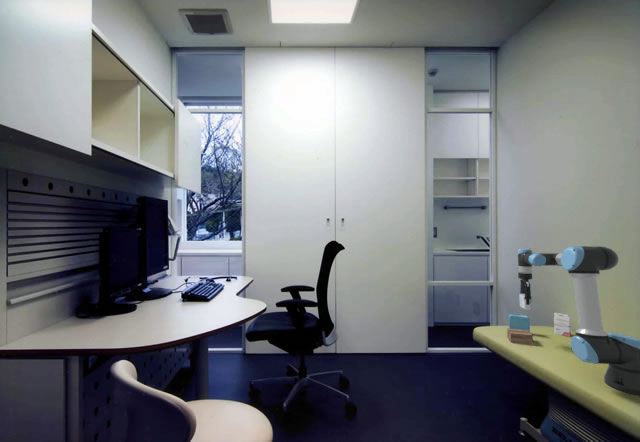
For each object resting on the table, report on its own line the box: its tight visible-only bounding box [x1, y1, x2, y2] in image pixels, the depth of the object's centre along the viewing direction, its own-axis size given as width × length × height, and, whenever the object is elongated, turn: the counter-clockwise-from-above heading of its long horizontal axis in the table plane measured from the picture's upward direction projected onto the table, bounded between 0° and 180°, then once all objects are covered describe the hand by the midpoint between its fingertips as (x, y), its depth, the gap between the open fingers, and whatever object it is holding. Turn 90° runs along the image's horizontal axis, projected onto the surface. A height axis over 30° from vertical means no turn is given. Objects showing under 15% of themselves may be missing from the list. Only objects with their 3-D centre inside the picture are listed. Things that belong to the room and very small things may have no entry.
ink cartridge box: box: [553, 312, 572, 338], centre depth 211 cm, size 9×5×15 cm, turn 43°
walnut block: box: [506, 327, 534, 346], centre depth 199 cm, size 10×12×6 cm
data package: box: [508, 313, 531, 333], centre depth 215 cm, size 12×4×12 cm, turn 60°
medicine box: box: [518, 293, 533, 311], centre depth 198 cm, size 8×4×9 cm, turn 167°
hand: (525, 307), depth 198 cm, fingers closed on medicine box, 8 cm apart
